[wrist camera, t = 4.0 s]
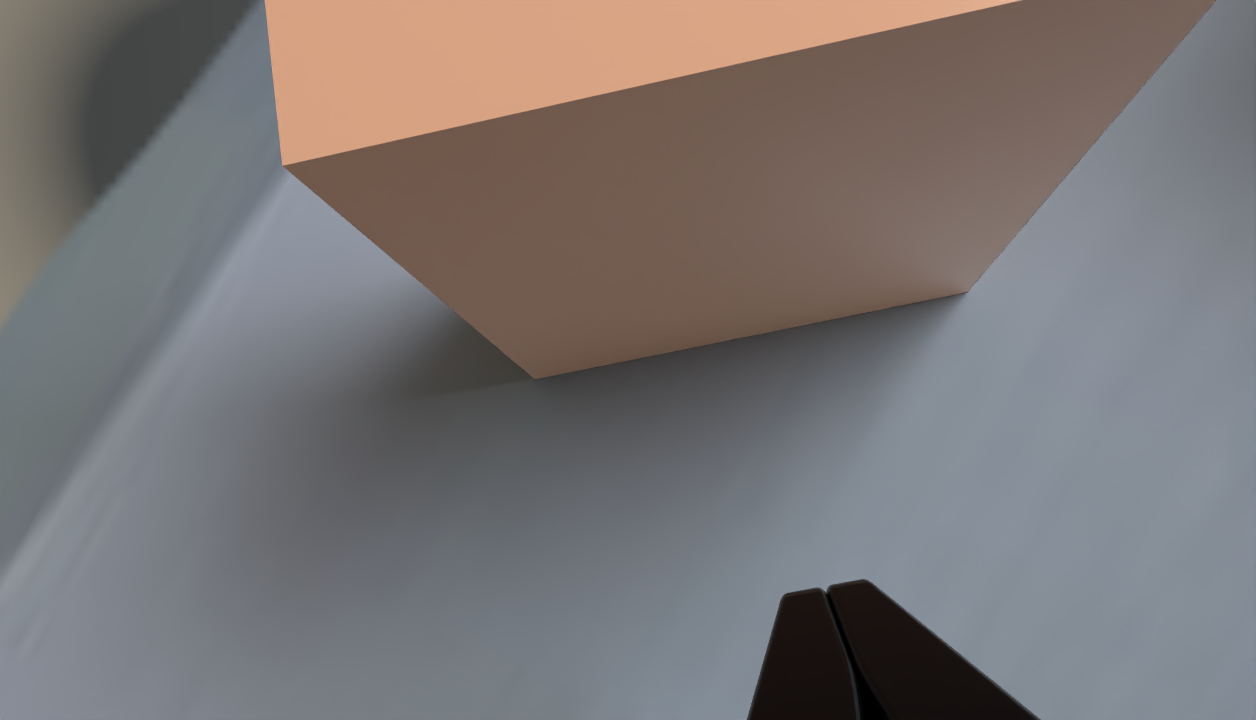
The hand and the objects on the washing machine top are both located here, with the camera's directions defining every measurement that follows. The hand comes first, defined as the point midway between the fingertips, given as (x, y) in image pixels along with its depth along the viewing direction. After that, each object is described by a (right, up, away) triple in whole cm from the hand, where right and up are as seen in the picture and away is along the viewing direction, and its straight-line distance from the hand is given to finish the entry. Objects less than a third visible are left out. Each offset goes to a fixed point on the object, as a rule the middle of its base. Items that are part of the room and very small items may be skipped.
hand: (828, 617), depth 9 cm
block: (0, +4, +9) cm, 9 cm away
